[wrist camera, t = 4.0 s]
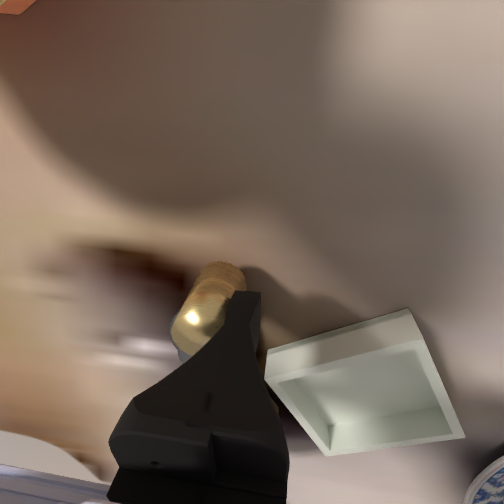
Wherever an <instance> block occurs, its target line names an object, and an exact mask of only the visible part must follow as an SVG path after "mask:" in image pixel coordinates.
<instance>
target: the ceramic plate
mask: <svg viewBox="0 0 504 504" xmlns="http://www.w3.org/2000/svg"><path fill="white" fill-rule="evenodd" d="M463 504H504V456H502V457H500V458H499V459H497V460H495V461H494V462H492V463H491V464H490V465H489V466H488V467H486V468H485V469H484V470H483V471H482V472H481V473H480V474H479V475H478V476H477V477H476V478H475V479H474V480H473V482H472V483H471V484H470V486H469V488H468V489H467V491H466V494H465V497H464V501H463Z"/></svg>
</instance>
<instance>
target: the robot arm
mask: <svg viewBox="0 0 504 504" xmlns="http://www.w3.org/2000/svg"><path fill="white" fill-rule="evenodd" d="M260 309H261V293H259V292H249V291H239V290H235V291H234V293H233V295H232V297H231V299H230V302H229V306H228V310H227V314H226V318H225V322H224V324H223V325H222V326H221V328H220V329H219V330H218V331H217V332H216V333H215V334H214V336H213V337H212V338H211V339H210V340H209V341H208V342H207V343H206V344H205V345H204V346H203V347H202V348H201V349H200V350H199V351H198V352H196V353H195V354H194V355H193V356H192V357H191V358H190V359H188V360H187V361H186V362H185V363H184V364H182V365H181V366H180V367H179V368H177V369H176V370H175V371H173V372H172V373H170V374H169V375H168V376H166V377H165V378H164V379H162V380H161V381H159V382H158V383H156V384H155V385H153V386H152V387H150V388H148V389H147V390H145V391H144V392H142V393H140V394H139V395H137V396H135V397H134V398H133V399H132V400H131V402H130V403H129V405H128V406H127V408H126V409H125V411H124V412H123V414H122V415H121V417H120V419H119V421H118V423H117V425H116V426H115V428H114V430H113V432H112V434H111V436H110V438H109V442H108V443H109V446H110V450H111V452H112V454H113V456H114V458H115V459H116V461H117V463H118V465H119V469H118V471H117V474H116V476H115V478H114V480H113V482H112V484H111V486H110V485H105V484H100V483H94V482H90V481H84V480H80V479H74V478H69V477H64V476H59V475H54V474H49V473H44V472H39V471H34V470H29V469H24V468H19V467H14V466H8V465H4V464H0V504H286V498H287V480H288V473H289V463H290V462H289V452H288V447H287V443H286V439H285V435H284V432H283V428H282V424H281V420H280V417H279V415H278V413H277V411H276V409H275V407H274V404H273V402H272V400H271V397H270V395H269V393H268V390H267V388H266V385H265V382H264V379H263V377H262V374H261V371H260V368H259V365H258V361H257V358H256V354H255V353H256V349H257V345H258V338H259V331H260Z"/></svg>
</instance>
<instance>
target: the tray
mask: <svg viewBox="0 0 504 504" xmlns="http://www.w3.org/2000/svg"><path fill="white" fill-rule="evenodd" d="M264 379H265V381H266V382H267V383H268V384H269V386H270V387H271V388H272V389H273V391H274V392H275V393H276V394H277V396H278V397H279V398H280V399H281V401H282V402H283V403H284V404H285V406H286V407H287V408H288V410H289V411H290V412H291V413H292V415H293V416H294V417H295V418H296V420H297V421H298V422H299V423H300V425H301V426H302V427H303V428H304V430H305V431H306V432H307V433H308V435H309V436H310V437H311V439H312V440H313V441H314V442H315V444H316V445H317V446H318V447H319V449H320V450H321V451H322V452H323V454H324V455H325V456H334V455H341V454H349V453H356V452H363V451H371V450H378V449H386V448H393V447H401V446H408V445H416V444H423V443H431V442H438V441H446V440H453V439H460V438H466V437H465V434H464V432H463V430H462V427H461V425H460V423H459V420H458V418H457V416H456V413H455V411H454V409H453V406H452V404H451V402H450V399H449V397H448V395H447V392H446V390H445V388H444V385H443V383H442V381H441V378H440V376H439V374H438V371H437V369H436V367H435V364H434V362H433V360H432V357H431V355H430V353H429V350H428V348H427V346H426V343H425V341H424V339H423V337H422V334H421V332H420V330H419V328H418V326H417V324H416V322H415V320H414V318H413V316H412V314H411V312H410V310H409V308H406V309H403V310H400V311H396V312H393V313H390V314H386V315H383V316H379V317H376V318H373V319H369V320H366V321H363V322H359V323H356V324H353V325H349V326H346V327H342V328H339V329H336V330H332V331H329V332H326V333H322V334H319V335H316V336H312V337H309V338H305V339H302V340H299V341H295V342H292V343H289V344H285V345H282V346H279V347H275V348H272V349H268V352H267V361H266V369H265V377H264Z"/></svg>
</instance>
